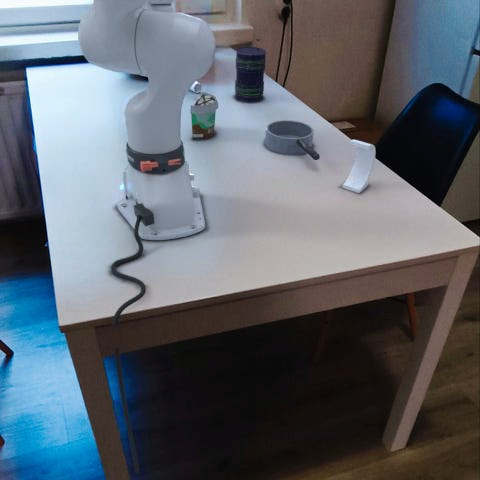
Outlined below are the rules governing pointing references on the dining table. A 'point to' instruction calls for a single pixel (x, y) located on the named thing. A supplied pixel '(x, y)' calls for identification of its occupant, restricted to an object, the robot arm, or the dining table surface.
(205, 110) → the food container
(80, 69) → the dining table surface
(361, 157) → the headphone stand
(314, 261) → the dining table surface
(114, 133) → the dining table surface
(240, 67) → the storage jar
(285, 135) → the saucepan
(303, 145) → the saucepan handle
